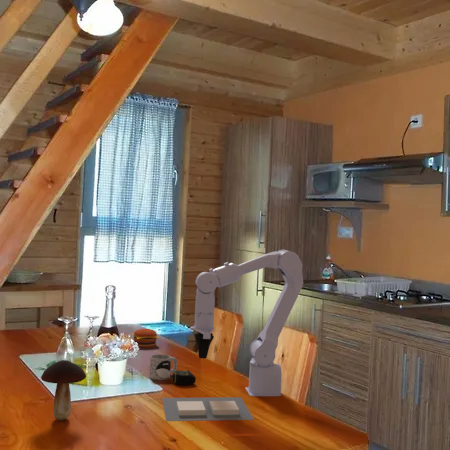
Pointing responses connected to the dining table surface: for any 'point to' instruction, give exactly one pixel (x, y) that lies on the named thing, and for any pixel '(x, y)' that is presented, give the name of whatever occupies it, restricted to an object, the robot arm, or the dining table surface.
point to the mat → (172, 412)
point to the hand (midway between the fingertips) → (202, 357)
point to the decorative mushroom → (63, 385)
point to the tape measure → (183, 377)
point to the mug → (161, 366)
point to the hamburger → (145, 338)
